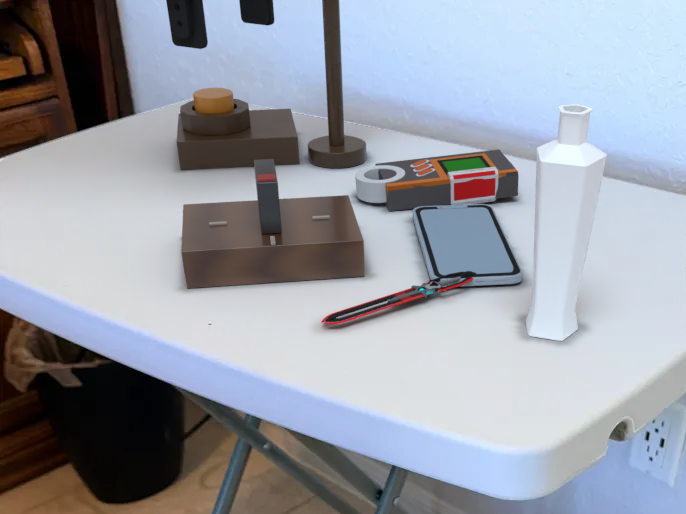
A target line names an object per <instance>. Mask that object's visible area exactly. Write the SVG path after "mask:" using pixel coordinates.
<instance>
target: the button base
mask: <svg viewBox="0 0 686 514" xmlns="http://www.w3.org/2000/svg"><path fill="white" fill-rule="evenodd" d="M233 99H234V108H235V109H234V110H232V111H229V112H224V113H212V114H207V113H199V112H196V111H195V106H194V100H191V101H190V100H189V101H188V102H186V103H184V104H182V105H180V108H179V111H180V112H179V113H178V114H177V115H178V117H177V129H176V130H177V131H176V148H177V155H178V161H179V162H178V163H179V168H180V170H181V171H185V170H186V171H187V170H205V169H207V170H208V169H226V168H244V167H254V160H262V159H273V160H274V164H275V166H282V165H283V166H285V165H300V163H301V162H300V150H299V136H298V133H297V129H296V124H295V120H294V117H293V112H292V109H291V108H274V109H273V108H272V109H270V108H269V109H251V110H250V107H249V102H246V101H245V100H241V99H239V98H233Z"/></svg>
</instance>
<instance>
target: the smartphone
mask: <svg viewBox="0 0 686 514" xmlns="http://www.w3.org/2000/svg"><path fill="white" fill-rule="evenodd" d="M412 221H413V223H414V227H415V231H416V235H417V238H418V241H419V244H420V248H421V252H422V255H423V259H424V262H425V266H426V268H427V269H426V270H427V273H428V275H429V279H430V280H433V279H436V278H439V277H442V276H445V275H448V274H452V273H457V272H466V271H472V272H475V273H476V274H475V275H473V276H472V277H473V280H471V281H470V282H468V283H466V284H464V285H462V286H459V287H476V286H477V287H479V286H499V285H500V286H501V285H515V284H518V283H521V282H522V280H523V274H524V270H523V268H522V266H521V263H520V261H519V259H518V257H517V255H516V253H515V250H514V248H513V247H512V244H511V242H510V240H509V238H508V236H507V233H506V232H505V229H504V227H503V225H502V222H501V221H500V218H499V217H498V215H497V211H496V210H495V208H494V206H493V205H490V204H486V203H477V204H467V205H451V204H446V205H438V206H421V207H417V208H413V209H412ZM456 277H459V275H457V276H450V277H446V278H443V279H440V281H439V283H440V282H443V281H447V280H450V279H453V278H456ZM464 279H465V278H463V279H460V281H457V282H453V283H450V284H447V285H444V286H441V287H446V286H449V285H452V284H455V283H458V282H461V281H463V280H464ZM459 287H458V288H459Z"/></svg>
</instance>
